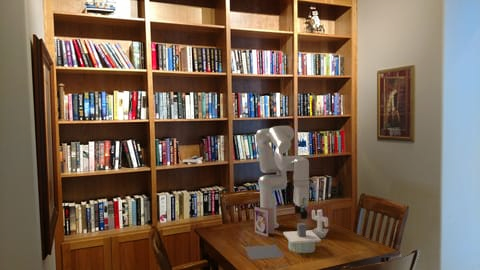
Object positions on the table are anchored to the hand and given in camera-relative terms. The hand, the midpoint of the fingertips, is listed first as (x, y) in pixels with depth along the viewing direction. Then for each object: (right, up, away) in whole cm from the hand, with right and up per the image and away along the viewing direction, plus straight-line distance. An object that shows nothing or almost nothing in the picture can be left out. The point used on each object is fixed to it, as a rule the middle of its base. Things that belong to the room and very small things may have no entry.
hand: (300, 215), depth 192 cm
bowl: (+1, -17, 0) cm, 17 cm away
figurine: (+14, -16, +20) cm, 29 cm away
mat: (-19, -18, -4) cm, 26 cm away
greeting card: (-17, -16, +26) cm, 35 cm away
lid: (0, -11, 0) cm, 11 cm away
